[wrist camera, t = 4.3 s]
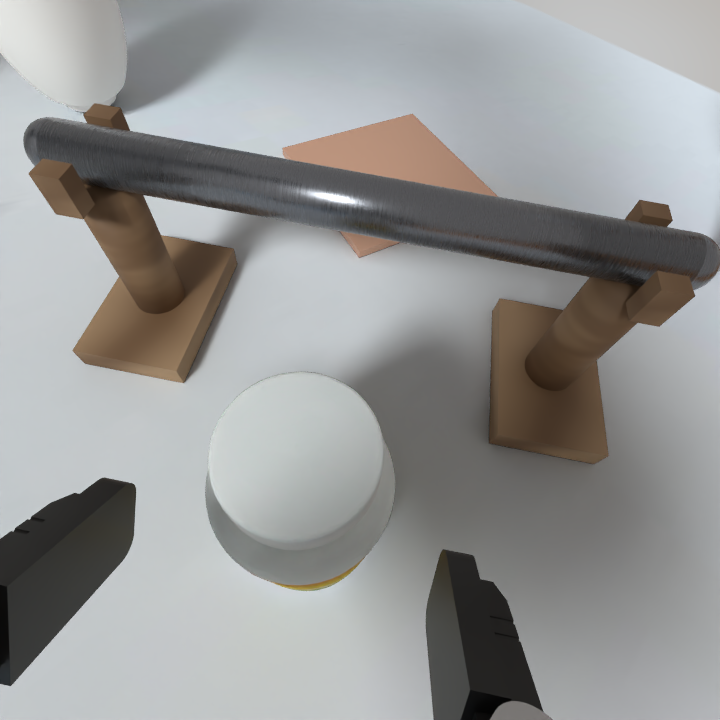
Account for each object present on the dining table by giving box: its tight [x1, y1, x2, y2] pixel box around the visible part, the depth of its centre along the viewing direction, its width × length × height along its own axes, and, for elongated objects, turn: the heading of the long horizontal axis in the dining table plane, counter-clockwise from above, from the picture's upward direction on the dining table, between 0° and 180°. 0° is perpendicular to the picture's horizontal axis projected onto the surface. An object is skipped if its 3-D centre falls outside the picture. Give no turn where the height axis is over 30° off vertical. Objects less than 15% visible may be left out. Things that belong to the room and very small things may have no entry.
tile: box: [283, 114, 498, 258], centre depth 29 cm, size 11×11×1 cm
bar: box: [23, 117, 720, 290], centre depth 15 cm, size 24×2×2 cm, turn 80°
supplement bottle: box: [205, 372, 395, 591], centre depth 14 cm, size 5×5×10 cm
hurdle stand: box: [29, 103, 695, 464], centre depth 18 cm, size 25×8×10 cm, turn 80°
